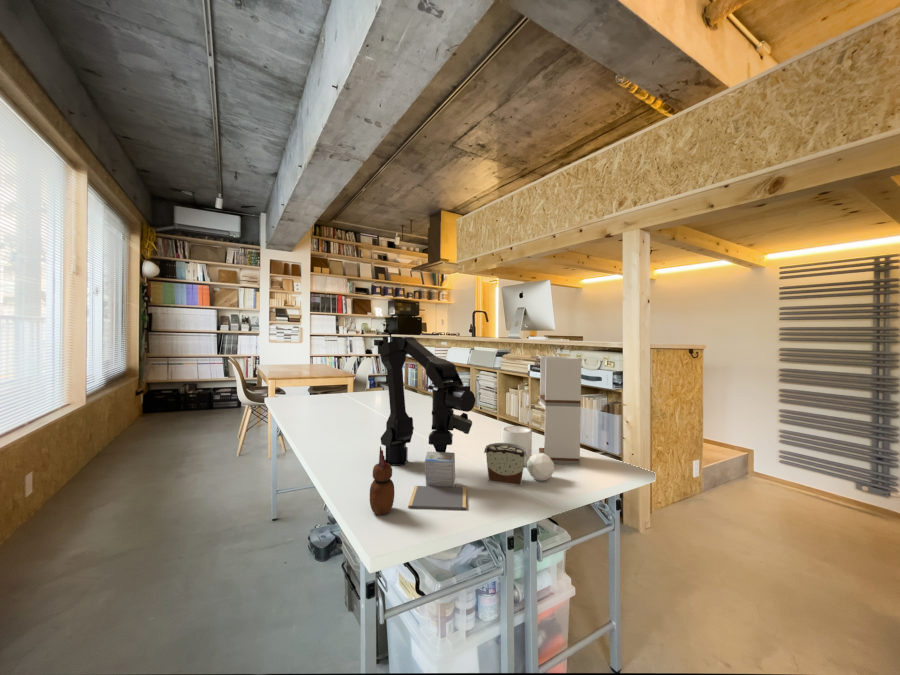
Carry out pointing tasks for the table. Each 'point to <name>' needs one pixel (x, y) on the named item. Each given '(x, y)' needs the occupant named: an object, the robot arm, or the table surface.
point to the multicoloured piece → (505, 463)
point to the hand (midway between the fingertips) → (441, 461)
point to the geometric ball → (540, 466)
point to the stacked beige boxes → (561, 408)
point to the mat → (438, 498)
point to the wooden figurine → (382, 487)
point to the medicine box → (440, 469)
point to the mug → (518, 438)
